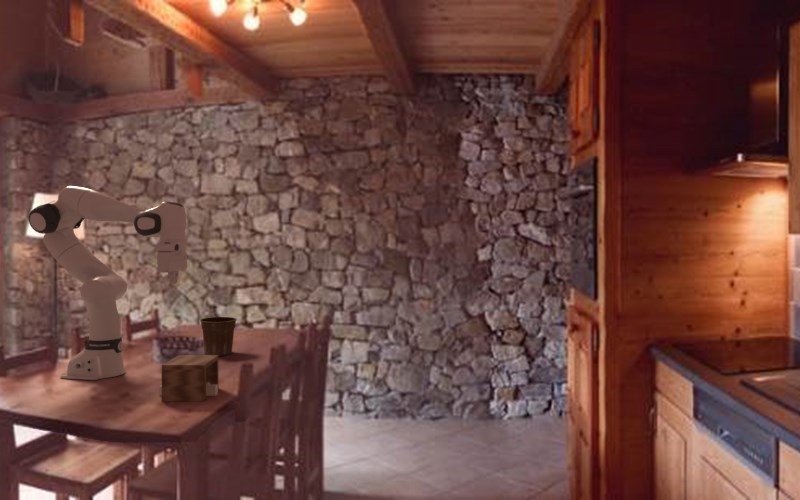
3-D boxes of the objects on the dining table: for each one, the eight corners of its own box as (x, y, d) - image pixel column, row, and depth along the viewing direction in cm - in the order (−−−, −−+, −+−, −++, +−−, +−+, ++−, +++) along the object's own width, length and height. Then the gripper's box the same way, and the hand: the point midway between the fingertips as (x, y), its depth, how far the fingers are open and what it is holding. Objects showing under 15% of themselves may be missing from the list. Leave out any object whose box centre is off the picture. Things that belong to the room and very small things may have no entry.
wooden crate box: (161, 401, 188) (161, 365, 187) (179, 388, 204) (178, 355, 203) (204, 401, 188) (204, 365, 188) (218, 388, 204) (218, 355, 204)
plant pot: (244, 352, 266) (244, 318, 266) (216, 359, 252) (216, 322, 252) (220, 349, 275) (220, 315, 274) (192, 354, 261) (192, 319, 261)
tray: (156, 397, 191) (156, 377, 191) (165, 391, 199) (165, 372, 199) (213, 397, 192) (213, 377, 192) (220, 391, 200) (220, 372, 200)
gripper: (174, 245, 218) (175, 281, 219) (153, 246, 198) (153, 285, 198) (191, 245, 219) (191, 281, 219) (172, 246, 198) (172, 286, 199)
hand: (173, 283), depth 209 cm, fingers closed
